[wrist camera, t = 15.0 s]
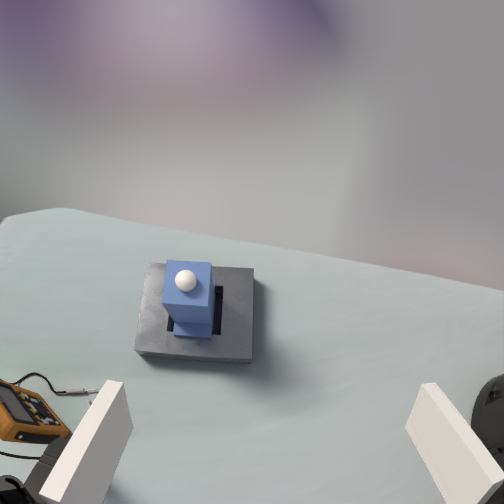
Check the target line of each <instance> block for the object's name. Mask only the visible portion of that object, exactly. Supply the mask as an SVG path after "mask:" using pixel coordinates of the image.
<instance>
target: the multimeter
mask: <svg viewBox="0 0 504 504" xmlns="http://www.w3.org/2000/svg"><path fill="white" fill-rule="evenodd" d="M33 374H36V375H39V376H41V377H43V378H44V379H45V380H46V381H47V382H48V384H49V387H50V389H51V390H52V391H53V392H54V393H85V391H95V390H98V389H89V390H85V389H84V388H83V389H76V390H67V391H63V392H56V391H54V390H53V389H52V387H51V385H50V383H49V381H48V380H47V378H46V377H44V376H43V375H41V374H38V373H30V374H27V375H26V376H24V377H23V378H21V379H20V380H19V381H17V382H16V383H7V382H5V381H3V380H1V379H0V439H1V440H3V441H10V442H20V443H33V444H50V443H51V442H53V441H54V440H55V439H57V438H58V437H60V438H63V439H65V438H66V437H67V436H68V434H69V433H70V431H69V429H68V428H67V427H66V426H65V425H64V424H63V423H62V422H61V421H60V419H59V418H58V417H57V416H56V415H55V414H54V412H53V411H52V410H51V409H50V408H49V406H48V405H47V404H46V403H45V401H44V400H43V398H42V397H41V396H40V395H39V394H38V393H34V392H32V391H29V390H26V389H23V388H21V387H18V386H15V384H18V383H19V382H21V381H22V380H23V379H24V378H26V377H28V376H30V375H33ZM88 405H89V408H90V403H89V400H88ZM0 454H1V455H5V456H9V457H15V458H22V459H37V460H39V459H40V457H28V456H19V455H13V454H8V453H4V452H1V451H0Z"/></svg>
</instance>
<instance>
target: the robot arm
mask: <svg viewBox="0 0 504 504" xmlns="http://www.w3.org/2000/svg"><path fill="white" fill-rule="evenodd" d="M405 428H406V430H407V432H408V433H409V435H410V437H411V439H412V441H413V442H414V444H415V446H416V448H417V450H418V451H419V453H420V455H421V457H422V459H423V461H424V462H425V464H426V466H427V468H428V470H429V472H430V474H431V475H432V477H433V479H434V481H435V483H436V485H437V487H438V489H439V491H440V493H441V494H442V496H443V498H444V500H445V502H446V504H504V374H502V375H500V376H497V377H495V378H493V379H491V380H490V381H489V382H487V383H486V385H485V386H484V387H483V388H482V390H481V391H480V393H479V395H478V397H477V399H476V402H475V405H474V409H473V413H472V420H471V427H470V426H469V425H468V423H467V422H466V421H465V420H464V418H463V417H462V416H461V414H460V413H459V412H458V411H457V409H456V408H455V407H454V406H453V404H452V403H451V402H450V400H449V399H448V398H447V397H446V396H445V394H444V393H443V392H442V391H441V389H440V388H439V387H438V386H437V384H436V383H435V382H433V383H427V384H422V385H421V388H420V390H419V393H418V396H417V399H416V401H415V404H414V406H413V409H412V411H411V414H410V416H409V419H408V421H407V424H406V426H405ZM132 429H133V424H132V420H131V416H130V412H129V408H128V403H127V399H126V394H125V389H124V384H123V383H122V382H116V381H111V380H107V381H106V383H105V384H104V386H103V387H102V389H101V390H100V392H99V394H98V395H97V397H96V398H95V400H94V401H93V403H92V405H91V406H90V408H89V409H88V411H87V413H86V414H85V416H84V417H83V419H82V421H81V422H80V424H79V426H78V427H77V429H76V430H75V432H74V434H73V435H72V437H71V439H70V440H66V439H63V438H60V437H58V438H57V439H55V440H54V441H53V442H51V443H50V444H49V445H48V446H47V448H46V450H45V451H44V453H43V455H42V456H41V457H40V459H39V462H37V464H36V465H35V467H34V469H33V470H32V472H31V473H30V475H29V477H28V478H27V480H26V481H25V483H24V485H23V483H22V482H21V481H20V480H19V479H18V478H16V477H14V476H11V475H3V476H0V504H102V503H103V501H104V498H105V496H106V493H107V491H108V488H109V486H110V483H111V481H112V478H113V476H114V473H115V471H116V468H117V466H118V463H119V461H120V458H121V456H122V453H123V451H124V449H125V446H126V444H127V441H128V439H129V437H130V434H131V432H132Z"/></svg>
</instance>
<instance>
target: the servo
mask: <svg viewBox="0 0 504 504" xmlns="http://www.w3.org/2000/svg"><path fill="white" fill-rule="evenodd" d="M161 303H162V305H163V306H164V308H165V309H166V311H167V312H168V314H169V315H170V316H171V318H172V319H173V321H174V330H173V335H175V336H187V337H201V338H212V330H213V327H214V311H215V276H213V274H212V266H211V263H209V262H191V261H173V260H167V263H166V270H165V278H164V285H163V293H162V301H161Z"/></svg>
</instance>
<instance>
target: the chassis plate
mask: <svg viewBox="0 0 504 504" xmlns="http://www.w3.org/2000/svg"><path fill="white" fill-rule="evenodd" d="M165 270H166V264H161V263H149V264H148V269H147V274H146V280H145V285H144V290H143V296H142V302H141V308H140V314H139V320H138V327H137V333H136V340H135V347H134V350H135V351H136V352H137V353H138V354H139V355H144V356H153V357H162V358H172V359H184V360H196V361H211V362H229V363H251V361H252V340H253V278H254V268H234V267H214V266H212V274H213V276H215V294H223V304H222V321H221V335H212V338H201V337H187V336H175V335H173V332H171V325H172V318H171V316H170V315H169V314H168V312H167V311H166V309H165V308H164V306H163V305H162V303H161V301H162V293H163V285H164V278H165Z"/></svg>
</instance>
